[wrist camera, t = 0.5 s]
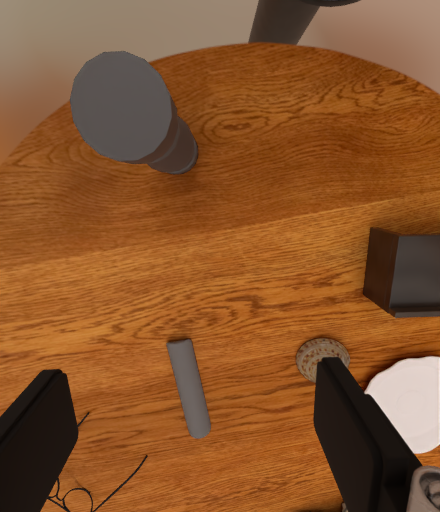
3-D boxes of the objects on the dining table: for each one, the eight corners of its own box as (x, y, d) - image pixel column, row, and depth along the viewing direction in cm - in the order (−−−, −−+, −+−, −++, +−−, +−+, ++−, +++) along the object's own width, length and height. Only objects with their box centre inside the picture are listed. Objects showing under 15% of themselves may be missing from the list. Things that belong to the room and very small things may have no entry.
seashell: (353, 384, 48) (317, 400, 45) (328, 365, 53) (294, 379, 50) (358, 341, 46) (319, 355, 43) (331, 326, 51) (295, 337, 48)
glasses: (36, 458, 53) (21, 484, 49) (91, 405, 53) (81, 425, 48) (96, 498, 56) (87, 526, 51) (149, 448, 56) (145, 471, 51)
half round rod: (189, 431, 53) (188, 440, 51) (165, 339, 48) (163, 345, 46) (211, 428, 53) (211, 436, 51) (190, 335, 48) (189, 341, 46)
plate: (332, 426, 53) (335, 434, 52) (392, 334, 48) (398, 340, 47) (424, 459, 56) (430, 468, 54) (490, 375, 51) (498, 381, 49)
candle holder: (152, 170, 41) (64, 157, 17) (156, 124, 39) (65, 35, 15) (195, 177, 41) (170, 173, 17) (201, 131, 40) (182, 56, 15)
